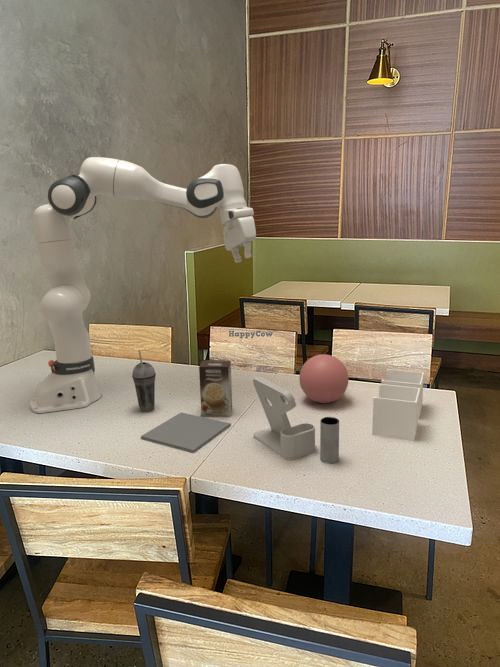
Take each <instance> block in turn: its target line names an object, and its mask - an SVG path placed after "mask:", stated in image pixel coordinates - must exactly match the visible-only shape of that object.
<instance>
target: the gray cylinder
mask: <svg viewBox="0 0 500 667" xmlns="http://www.w3.org/2000/svg"><path fill="white" fill-rule="evenodd" d="M319 421H320V423H319V424H320V428H319V430H320V431H319V432H320V438H319V439H320V440H319V441H320V442H319V445H320V446H319V450H320V451H319V454H320V456H319V458H320V461H321V462H323V463H325V464H335V463H337V462H338V461H339V460H340V420H339V419H338V418H336V417H334V416H325V417H321V418H320V420H319Z"/></svg>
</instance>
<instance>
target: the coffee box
mask: <svg viewBox="0 0 500 667" xmlns="http://www.w3.org/2000/svg"><path fill="white" fill-rule="evenodd" d="M198 368H199V369H198V370H199V371H198V372H199V373H198V374H199V390H200V391H199V392H200V411H201V412H200V417H223V418H228V417H230V416H231V414H232V411H233V392H232V391H233V389H232V388H233V387H232V385H233V384H232V362H231V360H213V359H212V360H211V359H210V360H206V359H202V361H201V362H200V363H199V366H198Z"/></svg>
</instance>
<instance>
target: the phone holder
mask: <svg viewBox="0 0 500 667" xmlns="http://www.w3.org/2000/svg"><path fill="white" fill-rule="evenodd" d="M252 382H253V386H254V389H255V391H256V394H257V396H258V398H259V401H260V403H261V406H262V408H263V412H264V414H265V416H266V419H267V422H268V425H269V428H264V429H262V430H259V431H256V432H253V438H254V439H255V440H256V441H258V442H260V443H261V444H262V445H264V446H265V447H267V448H268V449H270V451H272V452H274V453H276V454H277V455H279V457H281V458H283V459H284V460H287V461H292V460H296V459H297V458H301V457H304V456H307V455H309V454H312V453H315V452H316V451H317V449H318V446H317V445H316V427H315V425H314V424H312V423H308V422H307V423H306V422H305V423H300V424H297V425H294V426H291V423H290V421H289V418H288V415H287V413H288V412H289V411H292V410H293V409H294V408H296V406H297V404H296V399H295V398H294V395H293V394H292V393H291V392H290V391H289V390H288V389H286V388H284V387H281V385H278V384H276V383H274V382H272V381H270V380H269V379H266V378H264V377H262V376H260V375H259V376H257V377H255V378H253V380H252Z"/></svg>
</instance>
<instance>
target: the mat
mask: <svg viewBox="0 0 500 667" xmlns="http://www.w3.org/2000/svg"><path fill="white" fill-rule="evenodd" d="M231 424H232V423H230V422H227V421H221V420H218V419H213V418H208V417H205V416H201V415H200V416H198V415H195V414H190V413H185V412H179V413H177V414H175V415H174V416H172V417H170V418H169V419H168V420H166V421H164V422H162V423H160V424H159V425H157V426H156V427H154V428H151V430H149V431H147V432H145V433H144V434H142V435H140V439H141V440H145V441H148V442H151V443H154V444H155V443H156V444H159V445H163V446H166V447H170V448H173V449H174V448H175V449H177V450H178V449H179V450H181V451H185V452H188V453H193V454H194V453H195V452H197V451H198V450H200V449H201V448H203V447H204V446H205V445H207V444H208V443H209V442H211V441H212V440H214V439H215V438H216V437H218V436H219V435H220V434H222V433H223V432H224V431H226V430H227V429H229V428H230V427H231Z"/></svg>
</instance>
